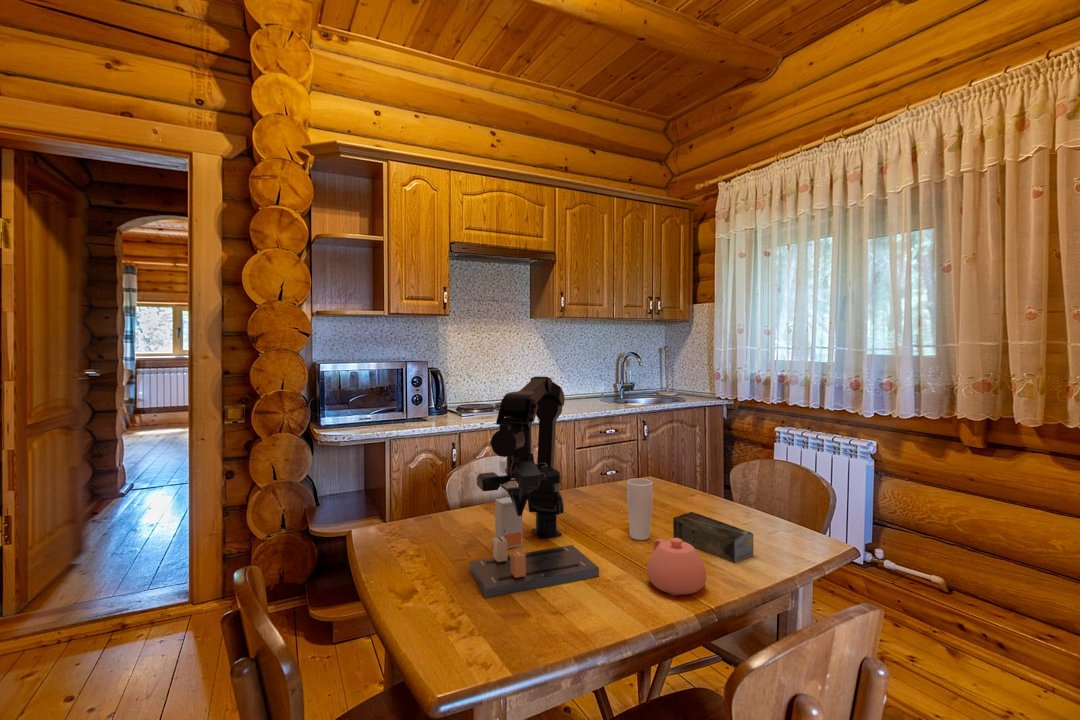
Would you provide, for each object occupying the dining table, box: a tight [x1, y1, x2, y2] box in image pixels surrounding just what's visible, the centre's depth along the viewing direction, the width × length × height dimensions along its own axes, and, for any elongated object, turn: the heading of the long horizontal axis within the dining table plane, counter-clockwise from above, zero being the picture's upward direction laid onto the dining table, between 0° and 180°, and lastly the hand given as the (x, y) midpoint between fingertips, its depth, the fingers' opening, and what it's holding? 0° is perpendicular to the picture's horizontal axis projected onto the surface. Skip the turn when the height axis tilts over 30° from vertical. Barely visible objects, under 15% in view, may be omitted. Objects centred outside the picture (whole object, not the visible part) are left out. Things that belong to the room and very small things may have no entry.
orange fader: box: [509, 549, 526, 578], centre depth 112 cm, size 3×2×5 cm
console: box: [468, 544, 600, 599], centre depth 118 cm, size 14×26×2 cm, turn 112°
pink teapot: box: [646, 537, 707, 597], centre depth 112 cm, size 12×14×10 cm
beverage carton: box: [672, 511, 755, 564], centre depth 132 cm, size 8×19×7 cm, turn 34°
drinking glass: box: [626, 478, 654, 541], centre depth 139 cm, size 7×7×15 cm
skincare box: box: [494, 496, 523, 550], centre depth 134 cm, size 6×4×12 cm
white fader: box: [492, 537, 508, 562], centre depth 120 cm, size 3×2×5 cm
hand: (519, 515), depth 120 cm, fingers closed
